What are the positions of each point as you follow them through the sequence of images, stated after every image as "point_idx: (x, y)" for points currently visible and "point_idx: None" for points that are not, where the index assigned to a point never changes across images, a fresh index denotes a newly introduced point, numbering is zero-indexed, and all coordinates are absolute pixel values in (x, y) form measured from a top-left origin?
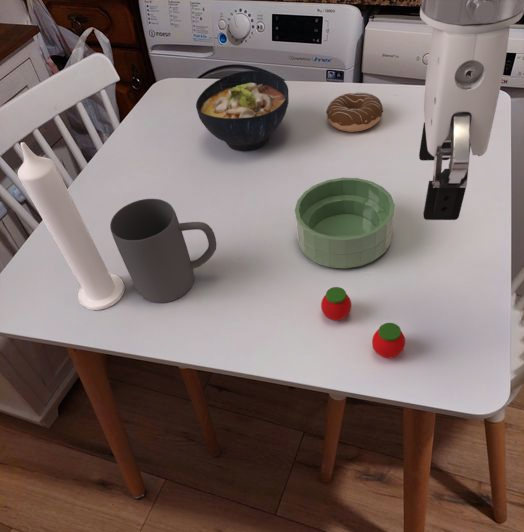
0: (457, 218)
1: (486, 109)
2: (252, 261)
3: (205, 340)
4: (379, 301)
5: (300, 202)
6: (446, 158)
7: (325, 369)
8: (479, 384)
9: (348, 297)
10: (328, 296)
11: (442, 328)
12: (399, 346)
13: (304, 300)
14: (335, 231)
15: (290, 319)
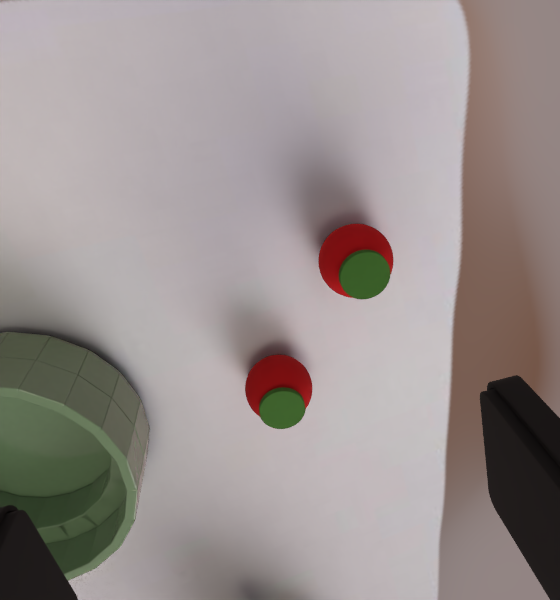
0: (516, 376)
1: None
2: (180, 551)
3: (392, 538)
4: (207, 301)
5: None
6: (23, 522)
7: (416, 345)
8: (395, 27)
9: (266, 378)
10: (294, 421)
11: (247, 145)
12: (380, 239)
13: (253, 435)
14: (25, 453)
15: (310, 440)
